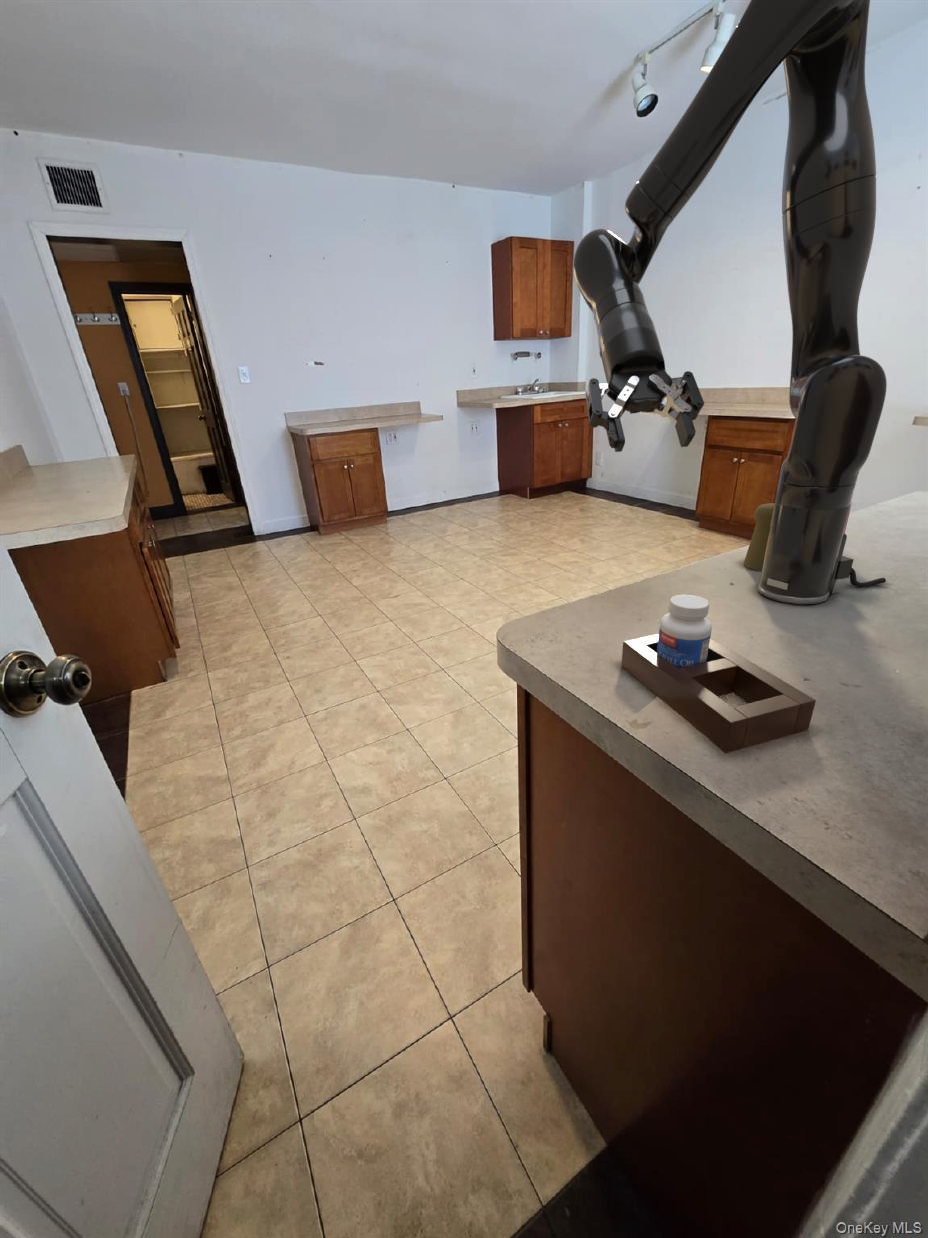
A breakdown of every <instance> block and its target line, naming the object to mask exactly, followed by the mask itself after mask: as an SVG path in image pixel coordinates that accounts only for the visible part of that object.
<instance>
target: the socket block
mask: <svg viewBox="0 0 928 1238" xmlns="http://www.w3.org/2000/svg"><path fill="white" fill-rule="evenodd" d="M658 637H659V633H656V634H651V635H645V636H642V637H638V638H632V639H627V640H623V641H622V652H621V653H622V654H621V667H622V668H623V669H624V670H626V671H627V672H628V673H629V674H630V675H631V676H633V678H635V679H636V680H637V681H638V682H640V683H641V684H642V685H643V686H645V688H647V689H648V690H650V692H652V693H653V694H654V695H655V696H657V697H658V698H659V699H660V700H661V701H662V702H664V703H665V704H666V705H667V706H668V707H670V708H671V709H672V710H673V711H674V712H675V713H676V714H678V715H679V716H681V717H682V718H683V719H684V720H685V721H686V722H687V723H688V724H690V725H691V726H692V727H694V728H695V729H696V730H697V731H698V732H699V733H701V734H702V735H703V736H704V737H706V738H707V739H708V740H709V741H710V742H711V743H713V744H714V745H715V746H716V747H717V748H719V749H720V750H721V751H722V752H724V753H725V754H727V753H731V752H735V751H737V750H741V749H745V748H749V747H751V746H752V747H753V746H755V745H759V744H762V743H765V742H770V741H773V740H777V739H780V738H784V737H787V736H791V735H794V734H797V733H802V732H805V731H808V730H809V729H810V726H811V721H812V717H813V714H814V710H815V706H816V702H817V700H816V699H815V698H813V697H812V696H810V695H808V694H807V693H805V692H803V691H802V690H799V689H798V688H796V687H795V686H793V685H791V684H789V683H788V682H786V681H784V680H783V679H781V678H779V677H778V676H775V675H774V674H772V673H770V672H769V671H767V670H766V669H764V668H762V667H760V666H759V665H758V664H756V663H754V662H752V661H751V660H749V659H747V658H745V657H743V656H742V655H740V654H739V653H737V652H735V651H733V650H732V649H731V648H728V647H727V646H725V645H723V644H721V643H720V642H718V641H716V640H715V639H713V638H711V637H710V643H709V649H708V655H707V660H706V663H701V664H697V665H693V666H688V667H684V668H680V669H678V668H677V667H676V666H674V665H673V664H671V663H670V662H669V661H667V660H666V659H664V658H663V657H662V656H660V655H659V654H657V645H658ZM729 694H730V695H731V694H734V695H735V696H737V697H738V698H740V699H742V700H743V701H745V702H746V703H745V704H742V705H738V706H731V705H730V704H729V703H727V702H726V701H724V700H723V699H721V698H720V697H721V696H722V697H723V696H726V695H729Z"/></svg>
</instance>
